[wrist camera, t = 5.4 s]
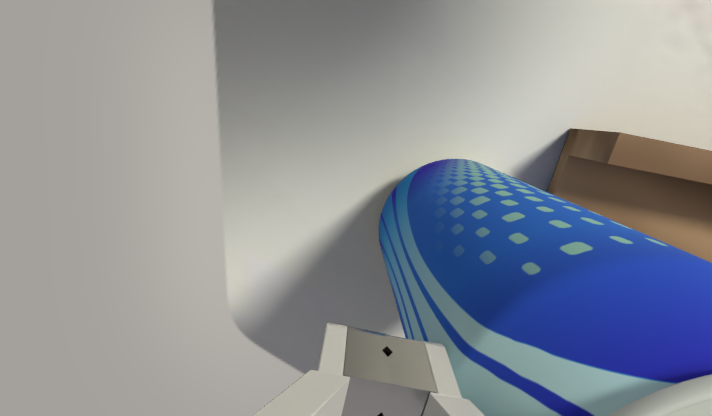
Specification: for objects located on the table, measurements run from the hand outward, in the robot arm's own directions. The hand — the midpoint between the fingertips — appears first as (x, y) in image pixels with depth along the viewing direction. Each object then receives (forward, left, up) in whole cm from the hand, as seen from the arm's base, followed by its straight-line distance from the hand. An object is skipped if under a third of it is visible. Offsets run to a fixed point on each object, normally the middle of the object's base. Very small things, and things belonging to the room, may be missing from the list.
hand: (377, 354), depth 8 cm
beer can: (0, +4, -14) cm, 14 cm away
